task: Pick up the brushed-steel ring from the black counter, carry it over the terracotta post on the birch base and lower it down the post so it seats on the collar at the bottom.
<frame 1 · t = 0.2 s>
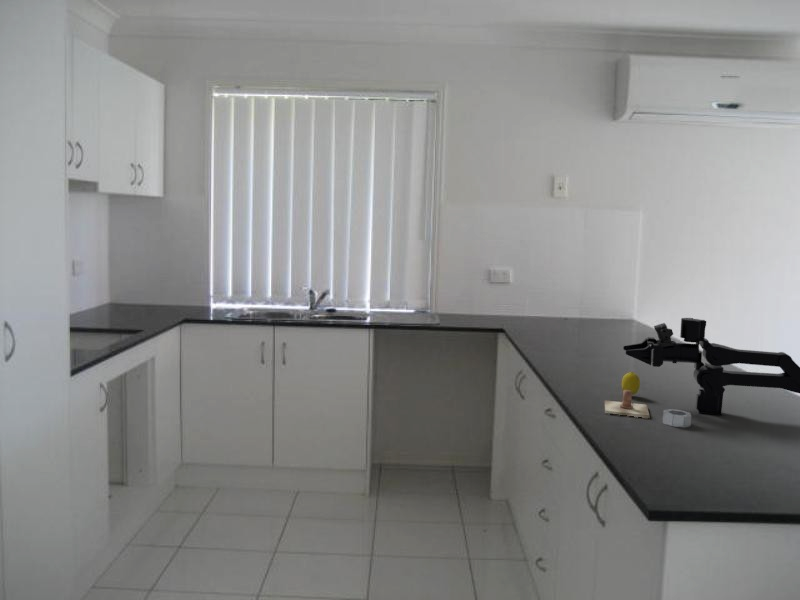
hand: (624, 350, 218), 17 cm above the worktop, tool horizontal, fingers open, 9 cm apart
ring: (676, 423, 200), on the worktop
post stand: (626, 410, 211), on the worktop
lemon: (629, 396, 229), on the worktop
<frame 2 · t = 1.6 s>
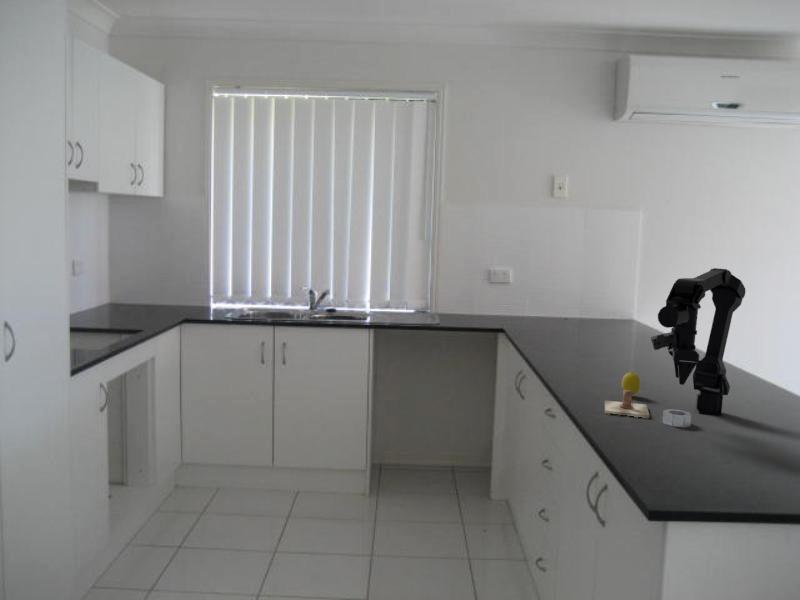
hand: (679, 381, 199), 12 cm above the worktop, tool pointing down, fingers open, 9 cm apart
nothing on the worktop moved.
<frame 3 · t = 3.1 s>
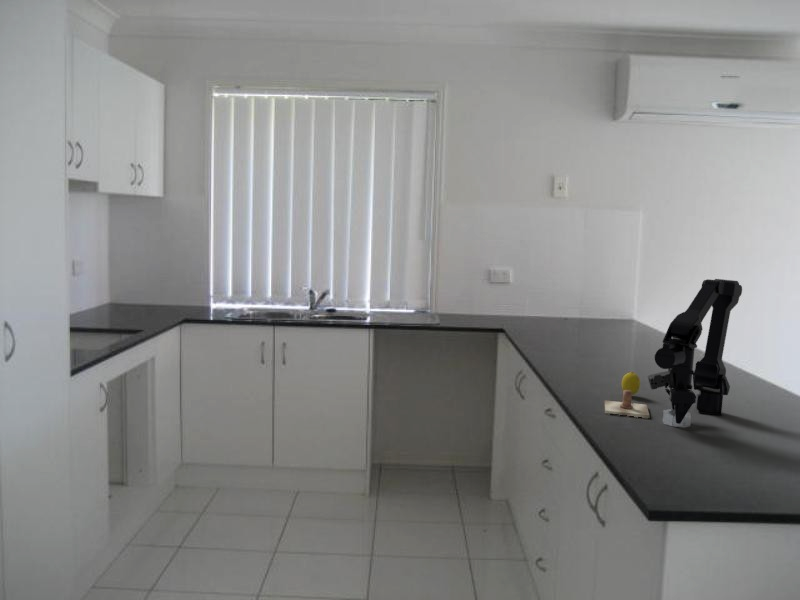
hand: (676, 419, 200), 1 cm above the worktop, tool pointing down, fingers closed on ring, 7 cm apart
ring: (676, 423, 200), on the worktop, touching gripper
everything else where it was.
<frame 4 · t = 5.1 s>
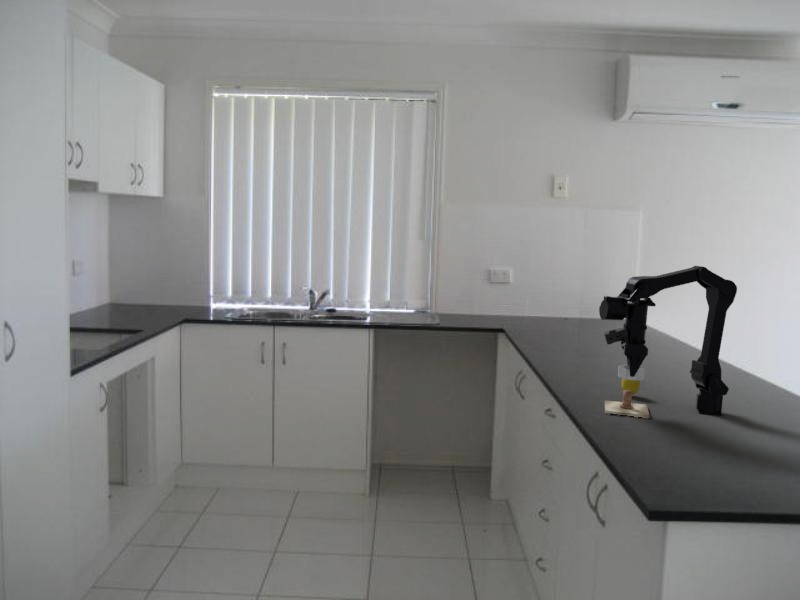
hand: (631, 374, 209), 11 cm above the worktop, tool pointing down, fingers closed on ring, 7 cm apart
ring: (630, 377, 209), point 10 cm above the worktop, touching gripper
everything else where it was.
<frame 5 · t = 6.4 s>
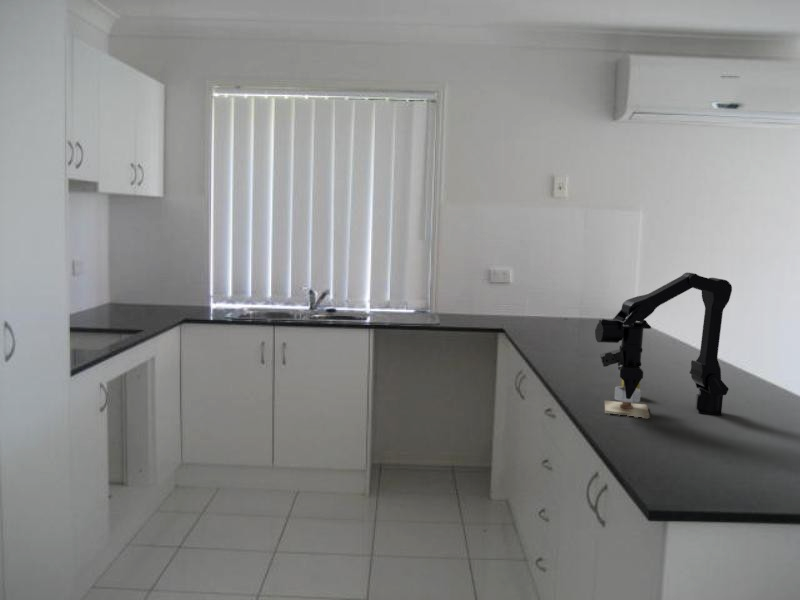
hand: (627, 395, 211), 5 cm above the worktop, tool pointing down, fingers closed on ring, 7 cm apart
ring: (627, 399, 211), point 4 cm above the worktop, touching gripper
everything else where it was.
when the fingers open (4 cm above the worktop, at t = 7.3 s): ring drops 2 cm, resting on post stand.
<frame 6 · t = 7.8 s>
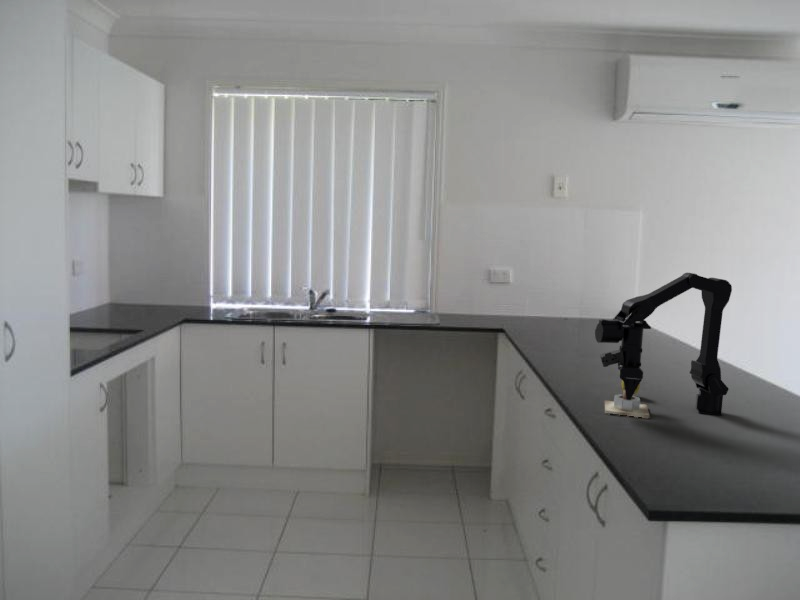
hand: (627, 395, 211), 4 cm above the worktop, tool pointing down, fingers open, 9 cm apart
ring: (626, 407, 211), point 1 cm above the worktop, touching post stand
everything else where it was.
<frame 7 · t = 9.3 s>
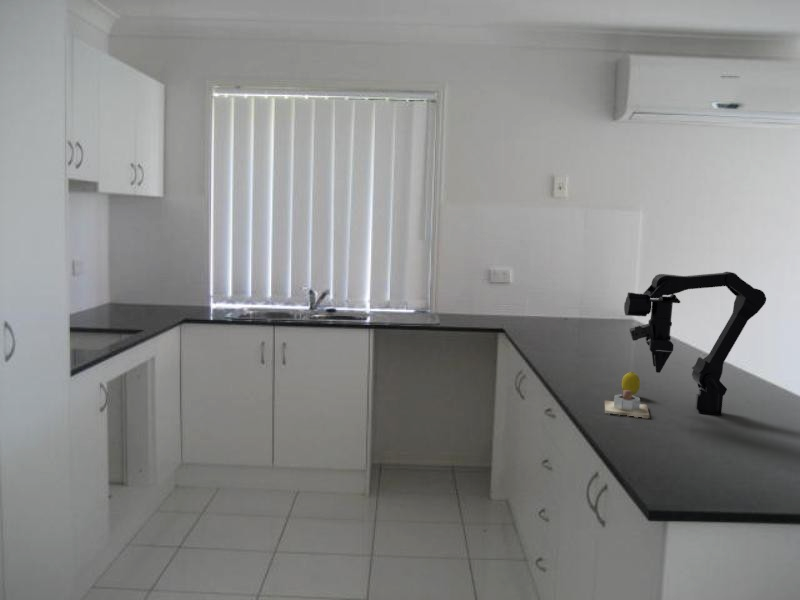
hand: (656, 369, 214), 12 cm above the worktop, tool pointing down, fingers open, 9 cm apart
nothing on the worktop moved.
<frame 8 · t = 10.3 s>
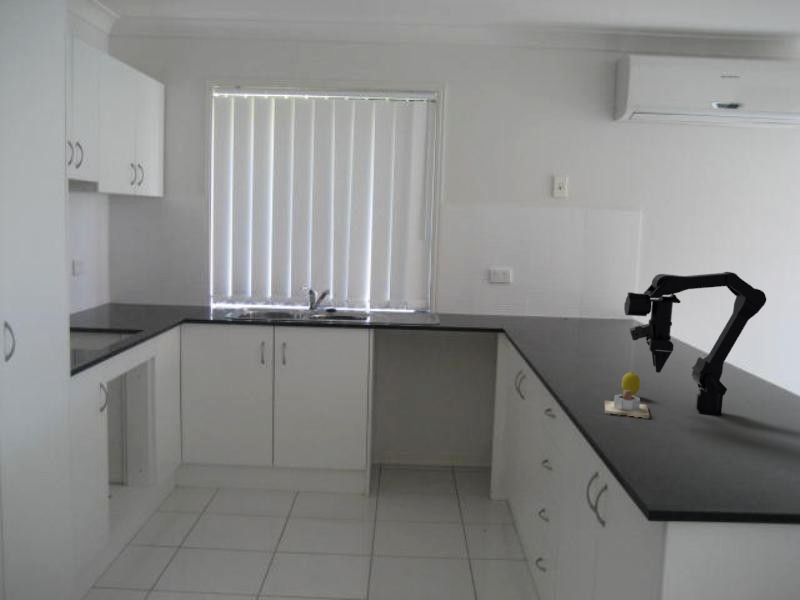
hand: (656, 369, 214), 12 cm above the worktop, tool pointing down, fingers open, 9 cm apart
nothing on the worktop moved.
at the end: ring 0.0 cm off-centre on the post stand, point 1.0 cm above the post stand's base; the gripper is holding nothing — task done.
